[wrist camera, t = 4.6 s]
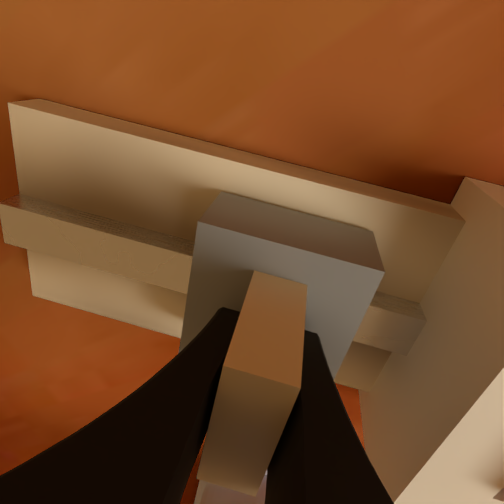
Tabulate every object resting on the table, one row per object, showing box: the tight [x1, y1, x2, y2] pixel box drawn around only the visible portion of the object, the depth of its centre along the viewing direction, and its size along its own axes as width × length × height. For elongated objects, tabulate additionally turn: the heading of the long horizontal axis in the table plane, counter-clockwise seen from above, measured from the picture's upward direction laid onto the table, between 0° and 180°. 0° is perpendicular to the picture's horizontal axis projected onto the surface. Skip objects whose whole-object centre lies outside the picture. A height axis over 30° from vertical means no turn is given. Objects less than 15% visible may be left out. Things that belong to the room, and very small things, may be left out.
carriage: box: [179, 191, 385, 497], centre depth 10 cm, size 6×5×6 cm
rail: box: [0, 194, 427, 356], centre depth 13 cm, size 2×15×1 cm, turn 78°
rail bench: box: [8, 99, 466, 392], centre depth 14 cm, size 8×15×2 cm, turn 78°
